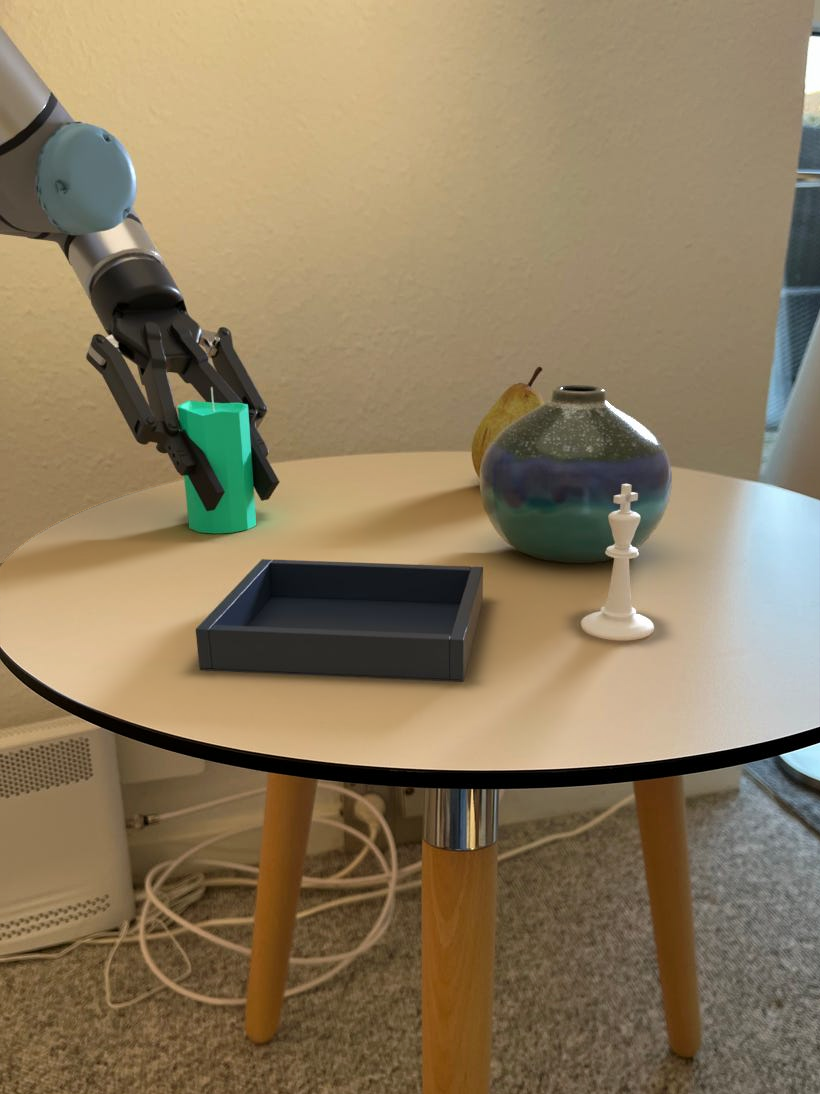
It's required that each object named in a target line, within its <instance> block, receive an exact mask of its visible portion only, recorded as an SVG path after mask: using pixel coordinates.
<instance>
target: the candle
mask: <svg viewBox="0 0 820 1094" xmlns="http://www.w3.org/2000/svg"><path fill="white" fill-rule="evenodd" d="M211 396H212V402H206V401H199V400H186V401H184V402H182V403H179V404H177V415H178V419H179V423H180V430H179V431H180V433H182V431H183V430H186V432H187V434H188V436H189V438H190V439H191V440H192V441H193V442H194V443H195V444H196V445H197V446H198V447H199V448H200V449H201V450H202V451H203V452H204V454H205V456H206V457H207V459H208V461H209V463H210V465H211V467H212V468H213V470H214V472H215V474H216V476H217V478H218V480H219V481H220V483H221V485H222V487H223V489H224V491H225V493H224V495H223V496H222V498H221V500H220V501H219V503H218V505H217V507H216V508H215V510H211V511H206V509H205V507H204V505H203V503H202V501H201V499H200V497H199V496H198V494H197V492H196V490H195V488H194V486H193V484H192V482H191V481H190V479H189V477H188V475H185V476H183V477H184V488H185V489H184V490H185V499H186V510H187V511H186V512H187V519H188V521H187V522H188V528H189V530H192V531H195V532H197V533H203V534H231V533H232V534H233V533H238V532H243V531H247V530H251V528H252V529H253V528H254V527H256V526H257V517H256V515H257V514H256V500H255V488H254V485H253V470H252V456H251V442H250V428H249V413H248V404H242V403H214V399H213V387H211Z"/></svg>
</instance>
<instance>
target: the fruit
mask: <svg viewBox="0 0 820 1094" xmlns="http://www.w3.org/2000/svg"><path fill="white" fill-rule="evenodd" d="M542 371H543V367H541V366H537V367H536V369H535V370H534V372H533V374H532V377H531V379H530V380H529V382H528V383H527V384H526V383H523V382H518V383H514V384H512V385H511V386H509V387H508V388H507V389H506V390H505V391H504V392H503V393H502V395H501V396H500V397H499V398H498V399H497V401H496V402H495V403H494V404H493V406H492V407H491V409H489V411H488V412H487V414H485V416H484V417H483V418H482V420H481V421H480V423H479V425H478V426H477V428H476V430H475V432H474V436H473V439H472V443H471V461H472V465H473V469H474V471H475V474H476V476H477V478H478V479H479V480H480V467H481V463H482V459H483V456H484V454H485V451H486V449H487V448H488V446H489V444H490V443H491V441H492V440H493V439H494V438H495V436H496V435H497V434H498V433H499V432H500V431H501V430H502V429H503V428H505V427H506V426H507V425H509V424H510V423H512V422H513V421H515V420H516V419H518V418H519V417H521V416H523V415H524V414H526V413H528V412H530V411H531V410H533V409H535V408H537V407H539V406H541V405H543V404H545V403H546V402H545V401H544V399H543V397H542V396H541V394H540V393H539V392H538V391H537V390H536V389H535V388H534V387H532V386H533V384H534V382H535V381H536V380H537V378H538V376H539V375H540V373H541V372H542Z"/></svg>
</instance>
